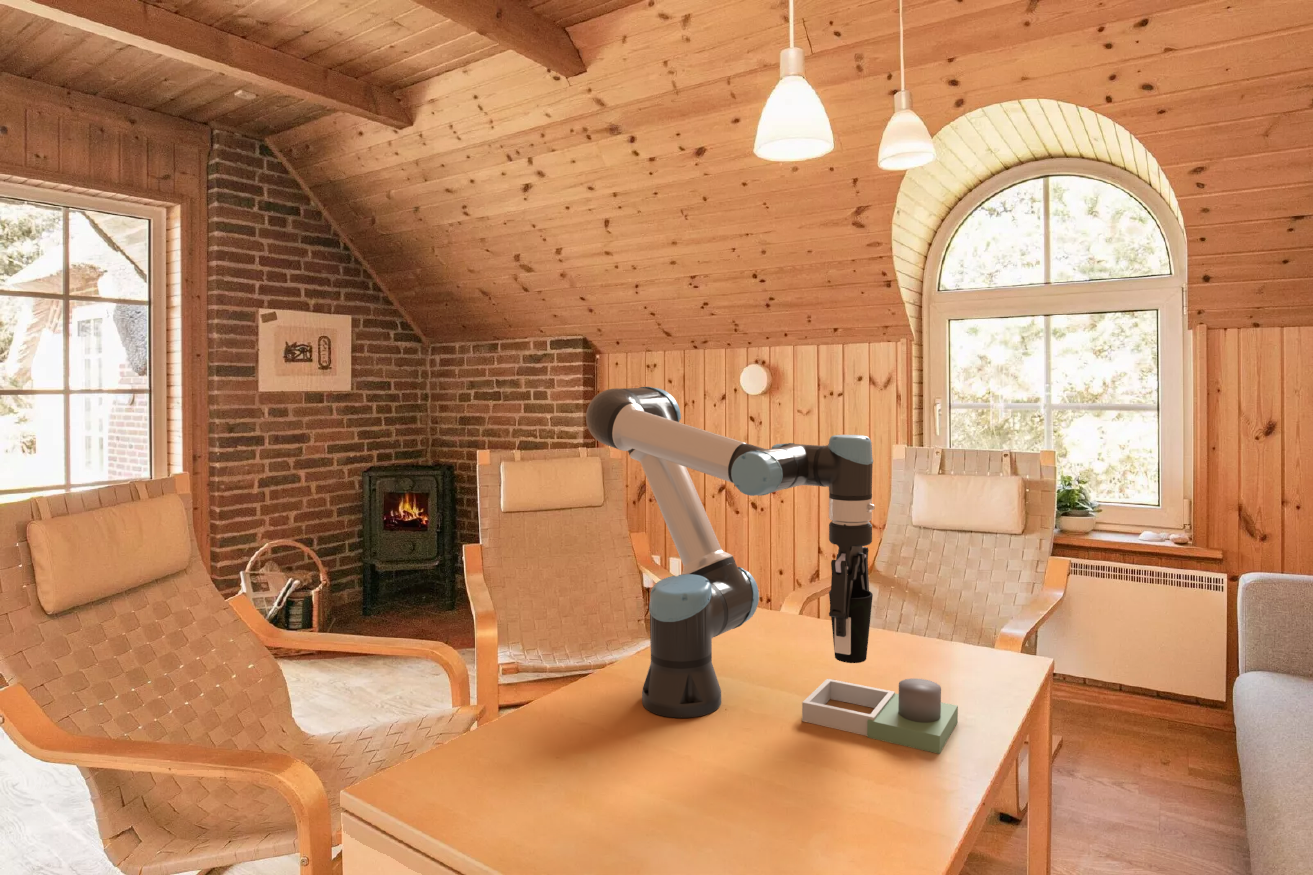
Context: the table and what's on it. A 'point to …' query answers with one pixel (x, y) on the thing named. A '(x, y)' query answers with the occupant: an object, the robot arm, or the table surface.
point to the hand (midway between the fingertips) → (850, 646)
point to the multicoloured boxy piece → (886, 712)
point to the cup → (857, 626)
